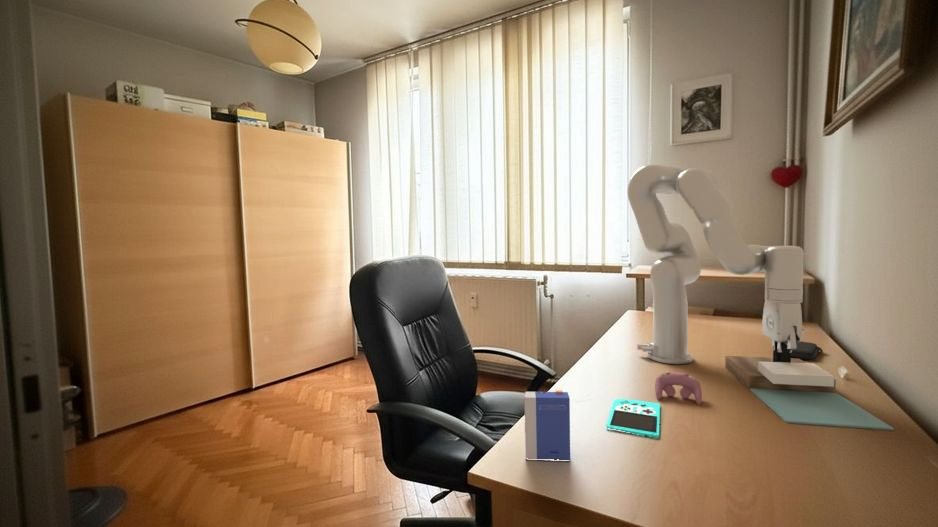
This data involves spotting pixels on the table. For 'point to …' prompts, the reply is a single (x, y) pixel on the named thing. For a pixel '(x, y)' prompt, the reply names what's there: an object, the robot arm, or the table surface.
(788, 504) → the table surface
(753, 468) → the table surface
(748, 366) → the brown wooden flat block
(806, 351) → the carrying case or bag
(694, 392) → the video game controller
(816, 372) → the box
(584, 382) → the table surface
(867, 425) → the mat
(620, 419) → the handheld game console
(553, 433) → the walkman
